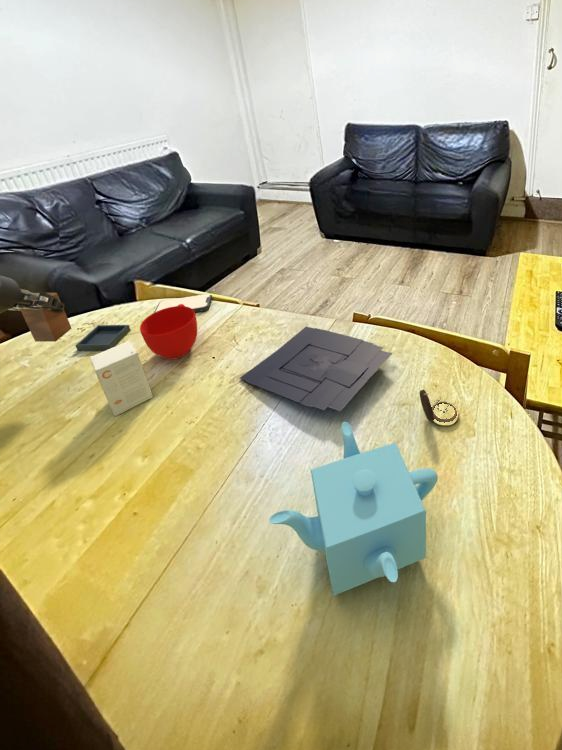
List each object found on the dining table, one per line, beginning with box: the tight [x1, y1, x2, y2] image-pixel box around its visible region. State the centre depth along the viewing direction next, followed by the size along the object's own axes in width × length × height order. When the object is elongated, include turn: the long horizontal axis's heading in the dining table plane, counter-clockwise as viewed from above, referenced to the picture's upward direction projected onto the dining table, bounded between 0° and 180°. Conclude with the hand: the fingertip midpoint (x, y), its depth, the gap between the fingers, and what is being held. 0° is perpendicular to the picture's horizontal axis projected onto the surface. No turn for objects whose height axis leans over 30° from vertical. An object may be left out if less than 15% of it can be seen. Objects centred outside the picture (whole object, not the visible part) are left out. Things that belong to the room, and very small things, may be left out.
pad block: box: [20, 292, 72, 343], centre depth 94 cm, size 5×5×10 cm
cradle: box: [74, 324, 131, 352], centre depth 115 cm, size 9×9×2 cm
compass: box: [419, 389, 457, 423], centre depth 86 cm, size 8×8×7 cm
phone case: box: [153, 293, 213, 313], centre depth 129 cm, size 9×2×16 cm
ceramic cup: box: [139, 304, 198, 360], centre depth 110 cm, size 13×17×10 cm
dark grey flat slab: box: [239, 326, 393, 412], centre depth 100 cm, size 24×30×4 cm
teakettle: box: [268, 421, 439, 597], centre depth 62 cm, size 19×19×15 cm
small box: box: [89, 340, 154, 417], centre depth 92 cm, size 8×6×13 cm
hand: (50, 308), depth 96 cm, fingers closed on pad block, 5 cm apart
